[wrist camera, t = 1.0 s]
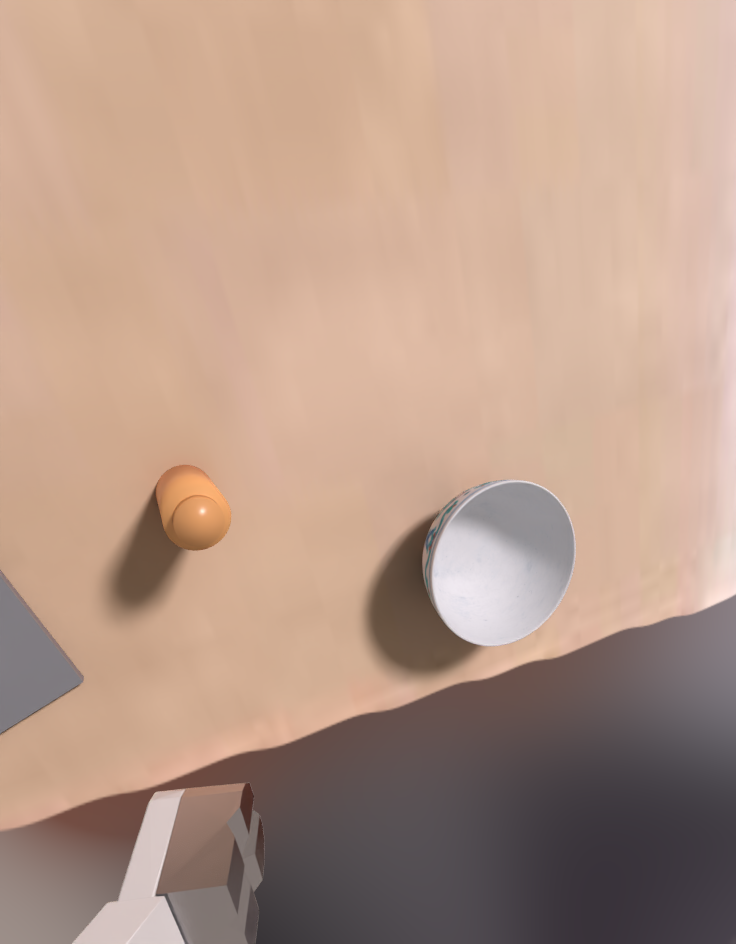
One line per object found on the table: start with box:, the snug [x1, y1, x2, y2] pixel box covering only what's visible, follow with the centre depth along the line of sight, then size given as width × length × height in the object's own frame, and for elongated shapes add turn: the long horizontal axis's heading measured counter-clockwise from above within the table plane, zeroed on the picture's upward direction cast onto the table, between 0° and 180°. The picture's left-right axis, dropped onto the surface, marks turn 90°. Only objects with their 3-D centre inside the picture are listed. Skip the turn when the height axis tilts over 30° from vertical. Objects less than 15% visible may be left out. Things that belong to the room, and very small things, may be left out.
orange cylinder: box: [156, 465, 231, 550], centre depth 43 cm, size 4×4×10 cm
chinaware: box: [422, 480, 576, 646], centre depth 55 cm, size 15×15×8 cm
